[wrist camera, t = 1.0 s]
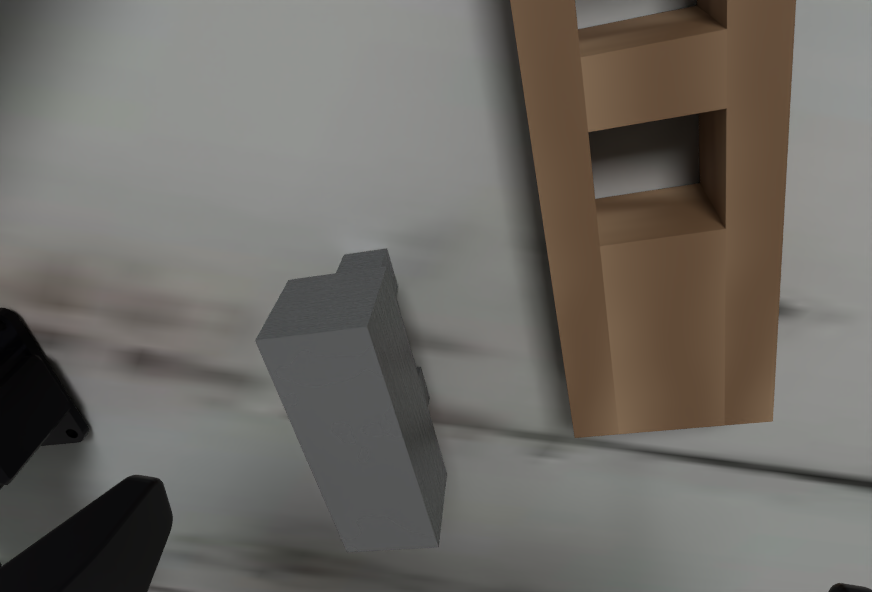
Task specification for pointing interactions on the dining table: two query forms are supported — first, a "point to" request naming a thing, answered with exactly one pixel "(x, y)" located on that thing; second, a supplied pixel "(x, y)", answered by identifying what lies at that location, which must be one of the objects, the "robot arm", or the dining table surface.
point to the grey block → (358, 403)
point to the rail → (663, 209)
